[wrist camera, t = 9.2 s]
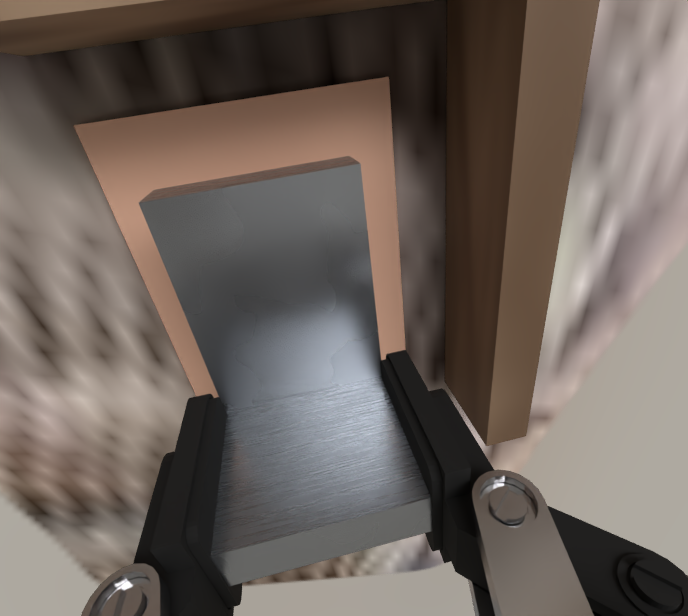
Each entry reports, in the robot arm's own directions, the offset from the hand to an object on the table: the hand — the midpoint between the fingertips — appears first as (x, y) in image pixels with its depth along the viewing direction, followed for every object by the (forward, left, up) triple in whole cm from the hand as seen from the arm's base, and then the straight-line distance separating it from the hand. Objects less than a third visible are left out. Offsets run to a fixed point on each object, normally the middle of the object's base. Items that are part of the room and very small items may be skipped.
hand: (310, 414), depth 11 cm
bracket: (0, +3, -1) cm, 3 cm away
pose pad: (0, +3, -4) cm, 5 cm away
